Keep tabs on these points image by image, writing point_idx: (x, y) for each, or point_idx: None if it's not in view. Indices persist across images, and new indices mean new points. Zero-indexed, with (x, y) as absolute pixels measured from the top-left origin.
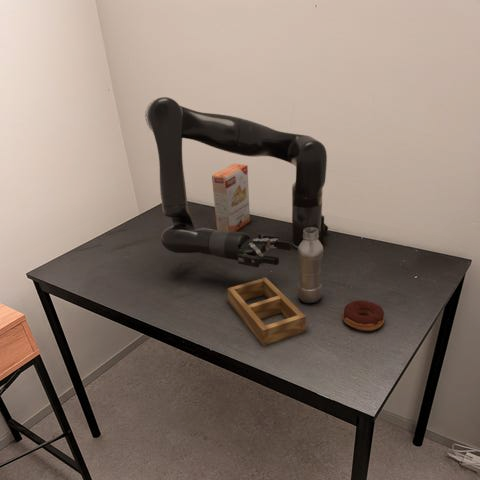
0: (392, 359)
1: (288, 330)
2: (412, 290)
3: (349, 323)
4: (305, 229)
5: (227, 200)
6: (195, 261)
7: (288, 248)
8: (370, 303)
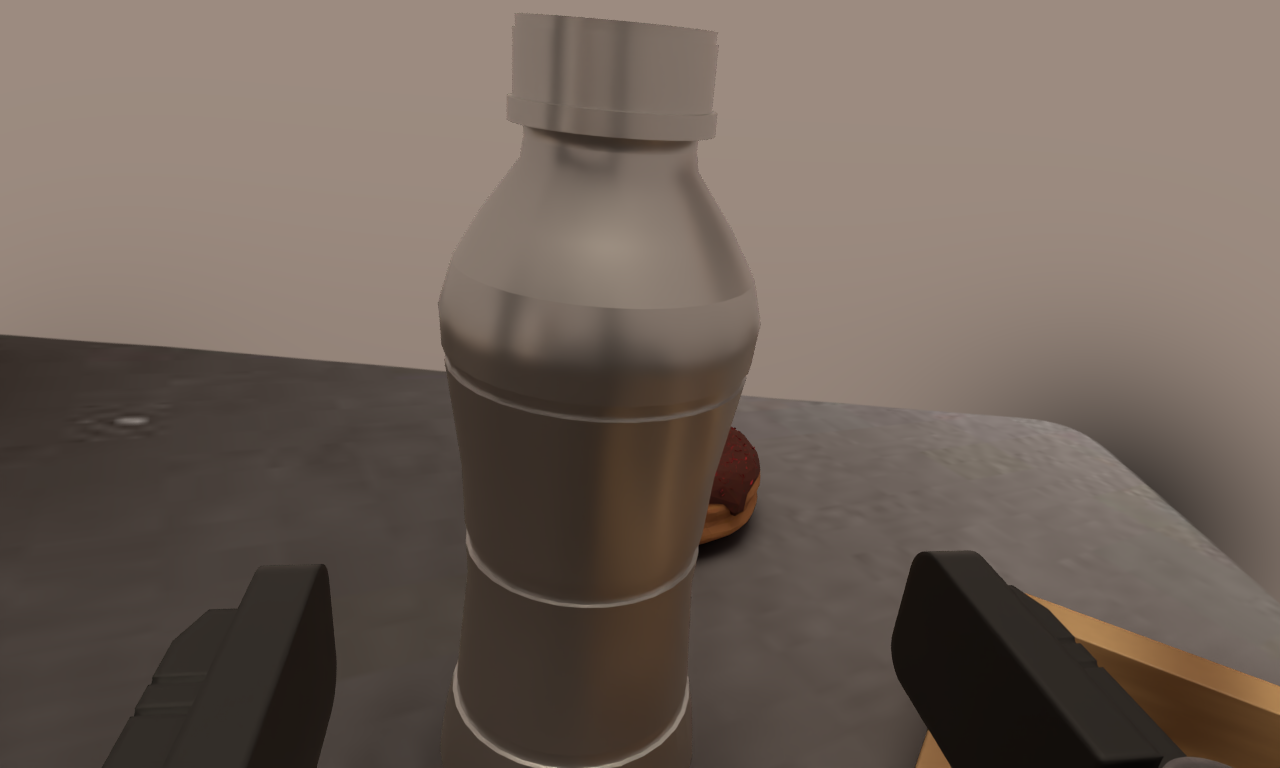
0: (815, 417)
1: None
2: (286, 418)
3: (751, 500)
4: (596, 32)
5: None
6: None
7: (327, 682)
8: None
